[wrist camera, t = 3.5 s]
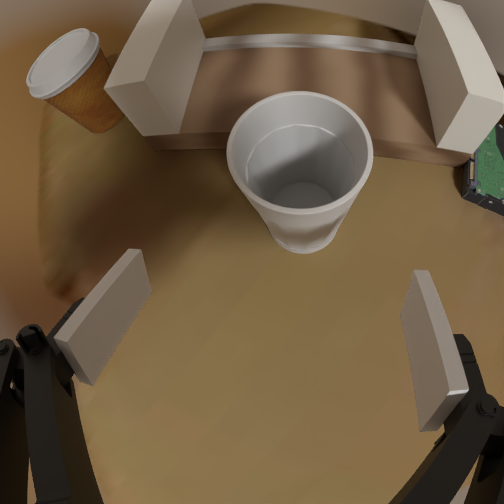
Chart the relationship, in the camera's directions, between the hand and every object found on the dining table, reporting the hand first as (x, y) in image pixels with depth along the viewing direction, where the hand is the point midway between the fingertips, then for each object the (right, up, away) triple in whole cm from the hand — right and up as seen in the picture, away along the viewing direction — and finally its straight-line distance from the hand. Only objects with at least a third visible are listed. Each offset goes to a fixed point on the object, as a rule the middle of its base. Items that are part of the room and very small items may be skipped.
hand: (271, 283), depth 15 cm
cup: (+4, +4, +13) cm, 14 cm away
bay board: (+5, +18, +16) cm, 25 cm away
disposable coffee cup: (-19, +19, +21) cm, 34 cm away
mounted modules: (+5, +19, +13) cm, 23 cm away
